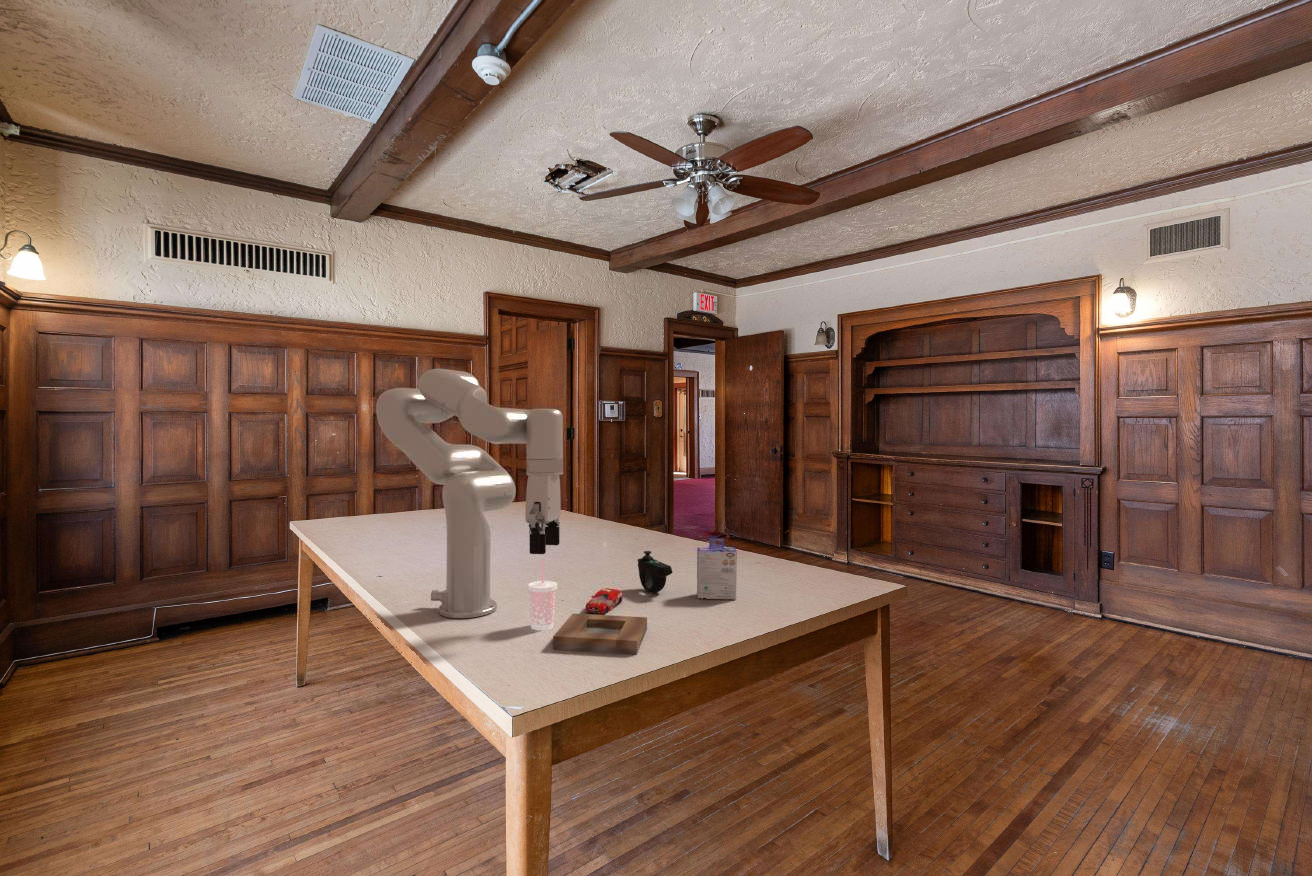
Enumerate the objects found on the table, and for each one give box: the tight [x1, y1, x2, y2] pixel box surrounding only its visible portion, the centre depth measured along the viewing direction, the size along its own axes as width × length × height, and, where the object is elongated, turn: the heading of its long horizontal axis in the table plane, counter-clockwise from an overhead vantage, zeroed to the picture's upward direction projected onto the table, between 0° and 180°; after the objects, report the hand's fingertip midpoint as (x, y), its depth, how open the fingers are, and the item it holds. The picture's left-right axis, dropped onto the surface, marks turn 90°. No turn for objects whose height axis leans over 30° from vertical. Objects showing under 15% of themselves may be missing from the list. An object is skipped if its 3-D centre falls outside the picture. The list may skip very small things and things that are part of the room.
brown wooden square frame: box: [552, 612, 648, 655], centre depth 116 cm, size 16×14×2 cm
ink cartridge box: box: [696, 537, 738, 600], centre depth 148 cm, size 10×6×14 cm, turn 89°
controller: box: [637, 550, 673, 594], centre depth 150 cm, size 4×12×10 cm, turn 32°
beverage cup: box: [527, 559, 558, 631], centre depth 123 cm, size 6×6×14 cm
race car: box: [584, 587, 623, 615], centre depth 138 cm, size 13×5×4 cm, turn 160°
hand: (545, 549), depth 123 cm, fingers open, 9 cm apart
